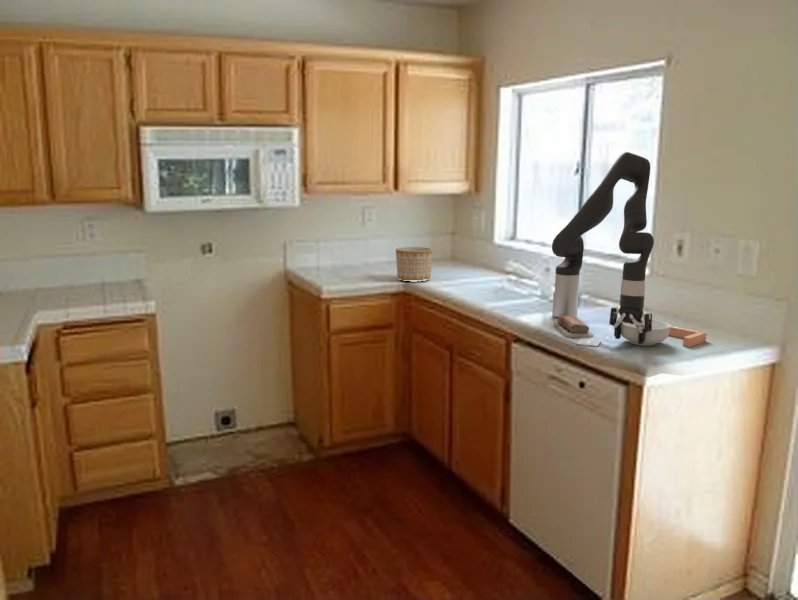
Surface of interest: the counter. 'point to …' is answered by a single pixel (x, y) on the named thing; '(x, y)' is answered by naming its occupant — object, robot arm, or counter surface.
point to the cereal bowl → (654, 336)
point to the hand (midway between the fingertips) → (628, 340)
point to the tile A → (588, 342)
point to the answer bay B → (688, 335)
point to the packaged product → (572, 327)
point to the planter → (414, 263)
